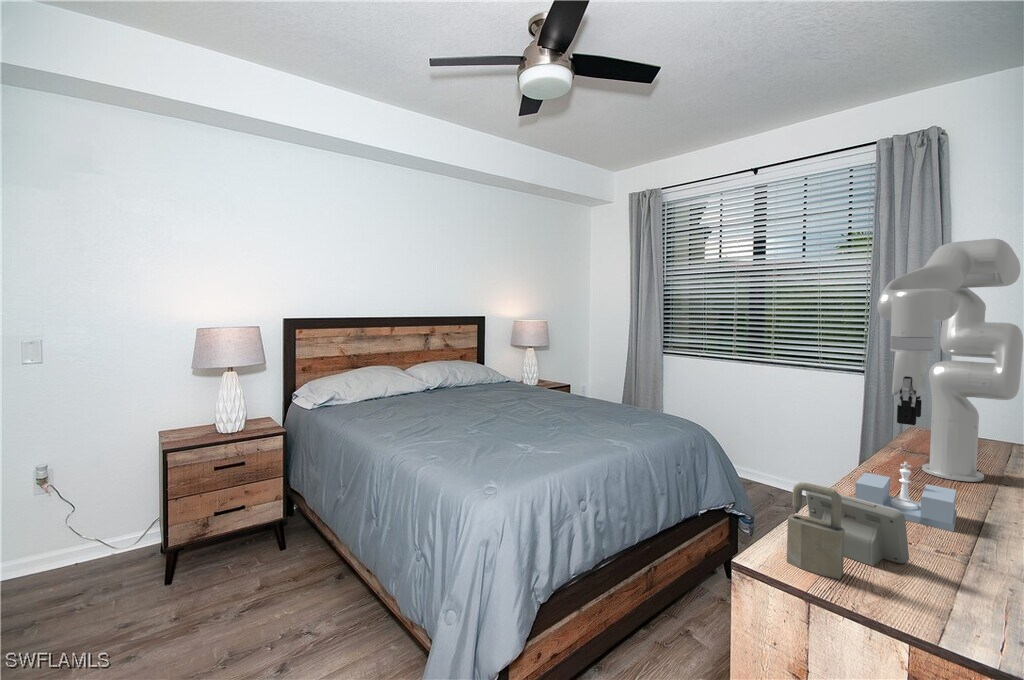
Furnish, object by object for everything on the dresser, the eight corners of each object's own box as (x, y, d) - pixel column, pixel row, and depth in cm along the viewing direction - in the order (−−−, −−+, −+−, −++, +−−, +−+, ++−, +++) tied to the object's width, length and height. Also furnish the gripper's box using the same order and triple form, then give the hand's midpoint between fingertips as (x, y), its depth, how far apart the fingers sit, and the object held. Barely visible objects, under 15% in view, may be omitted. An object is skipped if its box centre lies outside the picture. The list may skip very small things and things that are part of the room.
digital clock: (915, 566, 85) (917, 508, 84) (884, 577, 81) (887, 517, 81) (824, 528, 100) (826, 479, 99) (795, 537, 96) (796, 485, 96)
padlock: (791, 555, 89) (794, 476, 88) (844, 572, 83) (847, 488, 82) (785, 563, 86) (787, 482, 85) (838, 581, 80) (841, 494, 79)
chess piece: (920, 511, 104) (922, 466, 104) (892, 507, 107) (893, 463, 106) (915, 503, 108) (917, 460, 108) (888, 499, 111) (890, 457, 110)
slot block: (862, 496, 117) (863, 472, 117) (956, 516, 105) (957, 490, 105) (853, 507, 110) (854, 482, 110) (953, 531, 98) (955, 503, 98)
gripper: (896, 341, 115) (893, 411, 117) (884, 346, 103) (882, 424, 104) (937, 342, 110) (934, 415, 111) (930, 348, 98) (927, 430, 99)
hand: (909, 419), depth 108 cm, fingers open, 9 cm apart
